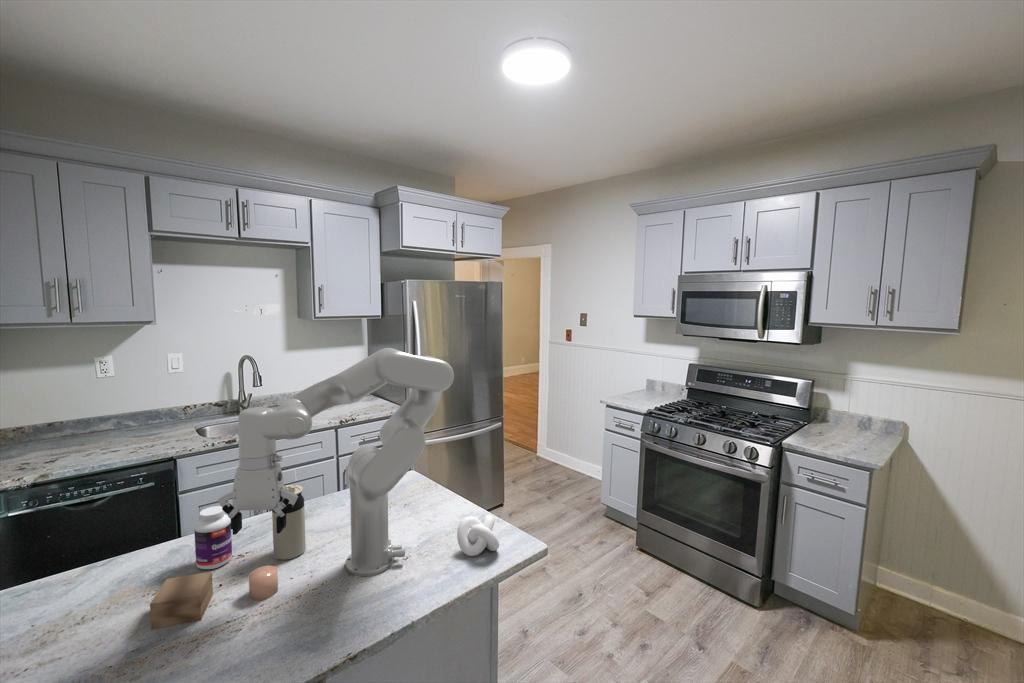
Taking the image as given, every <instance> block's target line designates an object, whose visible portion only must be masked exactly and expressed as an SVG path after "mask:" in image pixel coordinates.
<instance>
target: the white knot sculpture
mask: <svg viewBox="0 0 1024 683" xmlns="http://www.w3.org/2000/svg"><path fill="white" fill-rule="evenodd" d="M494 525H495V517H494V516H493V514H492V515H491V513H490V514H486V515H485V516H484V517H483V518H481V520H480V519H478V518H477V517H475V516H466V517H464V518H463V519H462V520H461V521H460V522H459V524H458V527H457V531H456V532H457V533H456V538H457V542H458V547H459V548H460V550H461V551H462V552H463V553H464V555H466V556H469V557H476V556H479V555H481V553H482V552H483V551H484V550H485V548H486V549H487V550H488V551H491V552H496V551H497V550H498V549H499V547H500V541H499V539H498V537H497V535H495V533H494V532H493V528H494Z"/></svg>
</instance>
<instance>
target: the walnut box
mask: <svg viewBox="0 0 1024 683" xmlns="http://www.w3.org/2000/svg"><path fill="white" fill-rule="evenodd" d="M213 585H214V584H213V571H207V572H200V573H195V574H189V575H188V574H187V575H181V576H177V577H171V578H165V581H164V582H163V583H162V584H161V587H160V588H159V590H158V591H157V593H156V594H155V596H154V597H153V599H152V600H151V602H150V603H149V612H150V613H149V614H150V626H151V628H150V629H151V630H152V631H153V630H154V631H155V630H159V629H165V628H169V627H172V626H179V625H184V624H189V623H195V622H199V621H202V619H203V617H204V616H205V613H206V611H207V608H208V607H209V604H210V603H211V600H212V598H213V595H214V588H213Z"/></svg>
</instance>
